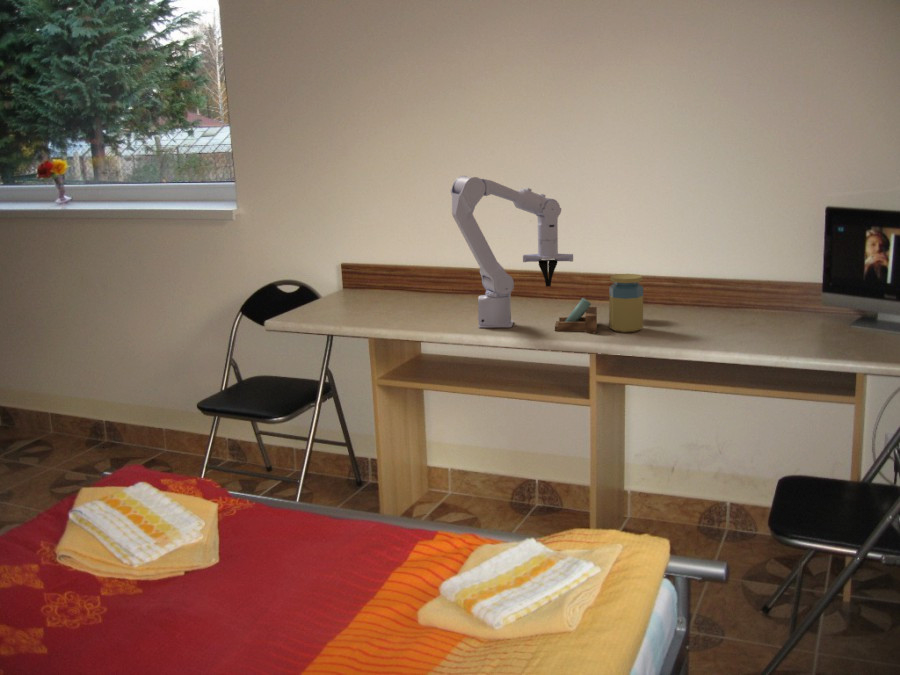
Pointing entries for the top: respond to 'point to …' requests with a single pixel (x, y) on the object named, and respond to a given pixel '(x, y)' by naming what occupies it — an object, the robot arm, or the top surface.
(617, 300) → the jar
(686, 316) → the top surface
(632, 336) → the top surface
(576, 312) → the peg
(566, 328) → the cradle
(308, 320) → the top surface
